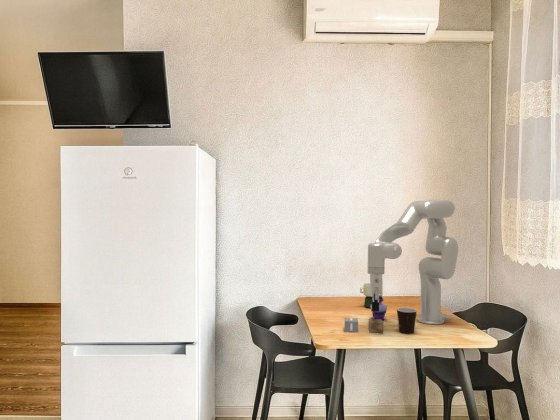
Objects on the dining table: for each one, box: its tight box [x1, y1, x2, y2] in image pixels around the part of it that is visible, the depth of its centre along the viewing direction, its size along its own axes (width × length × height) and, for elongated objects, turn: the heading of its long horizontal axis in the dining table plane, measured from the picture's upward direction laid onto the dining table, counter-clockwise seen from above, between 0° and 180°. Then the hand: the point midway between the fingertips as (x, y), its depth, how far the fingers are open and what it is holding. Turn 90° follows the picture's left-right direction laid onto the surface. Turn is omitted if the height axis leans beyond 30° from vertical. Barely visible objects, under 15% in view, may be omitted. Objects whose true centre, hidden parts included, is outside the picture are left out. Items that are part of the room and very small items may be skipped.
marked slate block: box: [344, 317, 359, 333], centre depth 204 cm, size 6×6×5 cm
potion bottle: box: [370, 294, 388, 322], centre depth 224 cm, size 9×9×12 cm
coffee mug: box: [396, 307, 417, 335], centre depth 200 cm, size 12×9×10 cm
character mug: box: [359, 282, 373, 309], centre depth 250 cm, size 11×7×13 cm, turn 88°
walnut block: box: [367, 318, 384, 335], centre depth 202 cm, size 6×6×5 cm
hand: (375, 310), depth 202 cm, fingers closed
